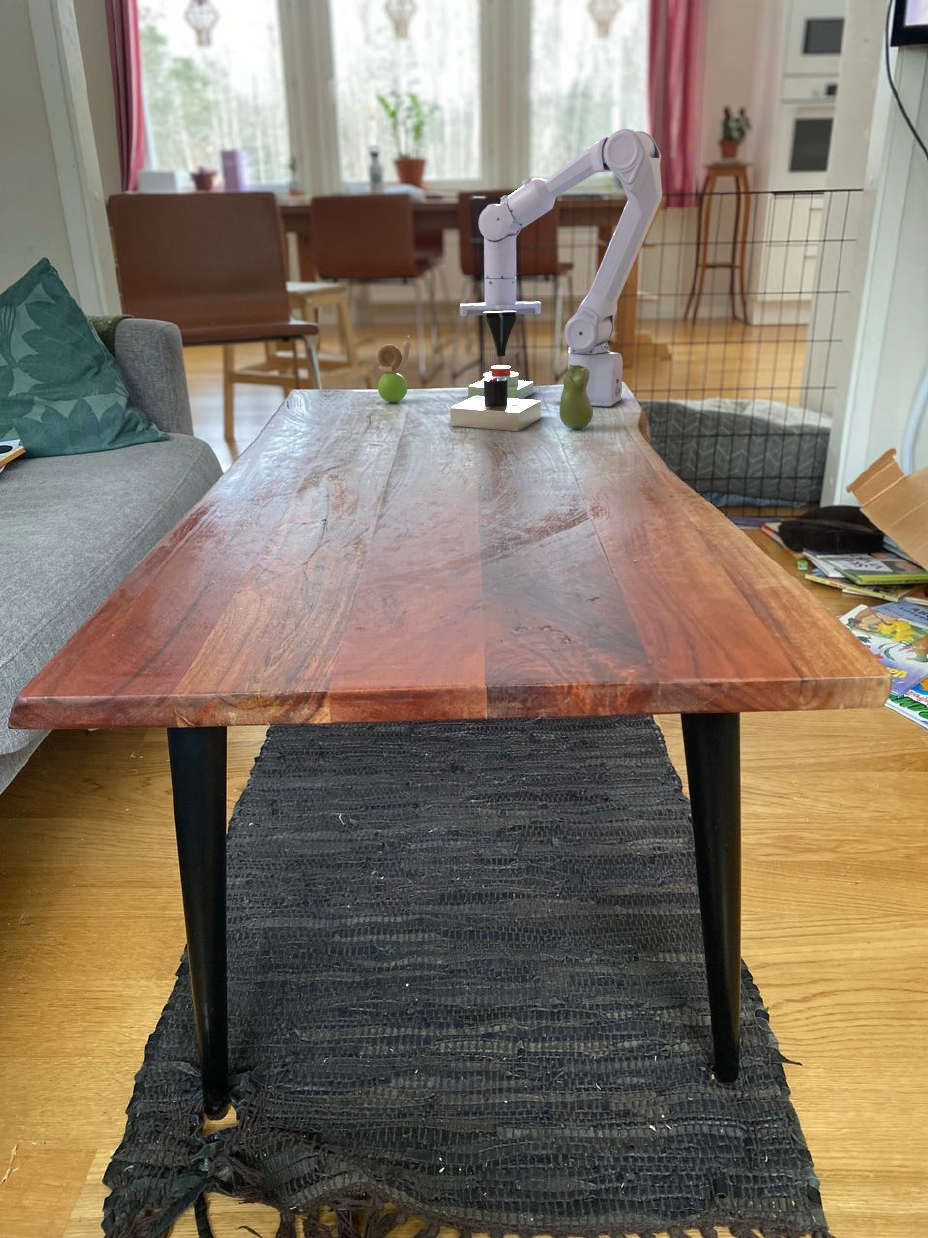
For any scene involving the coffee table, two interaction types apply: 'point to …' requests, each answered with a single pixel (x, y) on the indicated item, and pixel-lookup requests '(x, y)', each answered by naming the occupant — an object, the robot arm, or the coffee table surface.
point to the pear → (575, 398)
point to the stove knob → (495, 391)
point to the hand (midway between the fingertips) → (500, 355)
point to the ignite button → (500, 370)
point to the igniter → (514, 387)
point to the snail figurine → (393, 372)
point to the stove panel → (495, 414)
